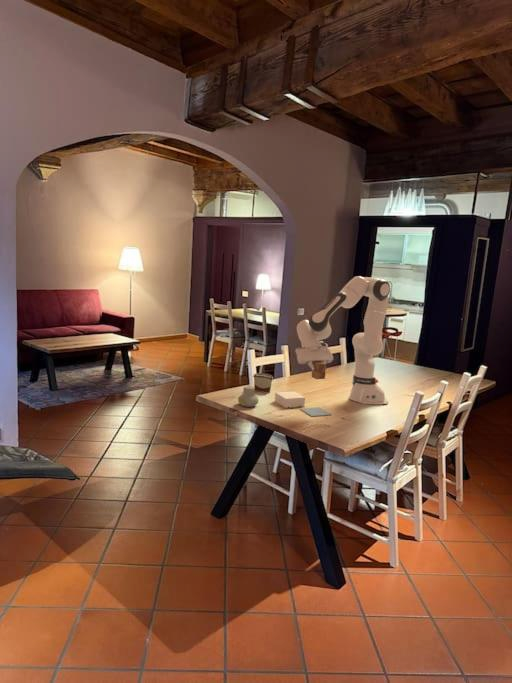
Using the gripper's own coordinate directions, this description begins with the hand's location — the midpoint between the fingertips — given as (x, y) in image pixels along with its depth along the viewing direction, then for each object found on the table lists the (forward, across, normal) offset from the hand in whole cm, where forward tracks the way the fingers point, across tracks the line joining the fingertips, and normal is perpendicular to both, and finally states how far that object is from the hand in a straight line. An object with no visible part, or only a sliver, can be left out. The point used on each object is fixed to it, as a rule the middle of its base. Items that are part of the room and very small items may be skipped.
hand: (319, 369), depth 241 cm
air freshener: (+3, -31, +30) cm, 43 cm away
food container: (-14, -10, +47) cm, 50 cm away
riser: (+4, -7, +28) cm, 29 cm away
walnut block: (+3, 0, +4) cm, 5 cm away
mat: (+16, 0, +16) cm, 23 cm away
